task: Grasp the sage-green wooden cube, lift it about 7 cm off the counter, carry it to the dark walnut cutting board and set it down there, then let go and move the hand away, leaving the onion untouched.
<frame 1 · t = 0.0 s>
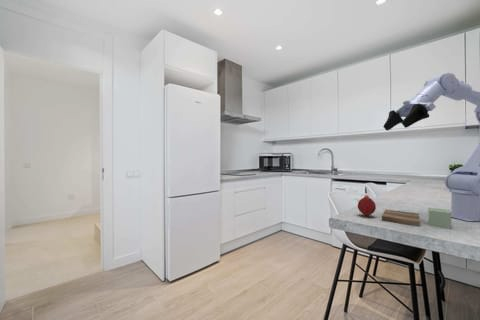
hand: (394, 126, 73), 32 cm above the countertop, tool tilted 50°, fingers open, 7 cm apart
cube: (439, 225, 69), on the countertop
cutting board: (400, 219, 76), on the countertop
onion: (366, 216, 80), on the countertop
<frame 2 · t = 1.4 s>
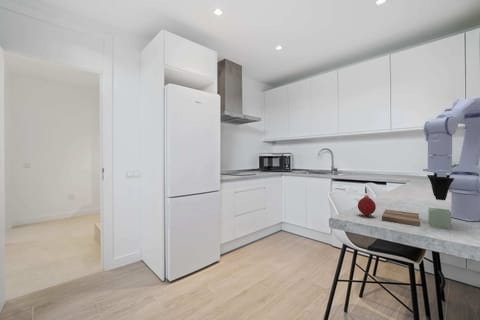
hand: (439, 197, 69), 9 cm above the countertop, tool pointing down, fingers open, 7 cm apart
nothing on the countertop moved.
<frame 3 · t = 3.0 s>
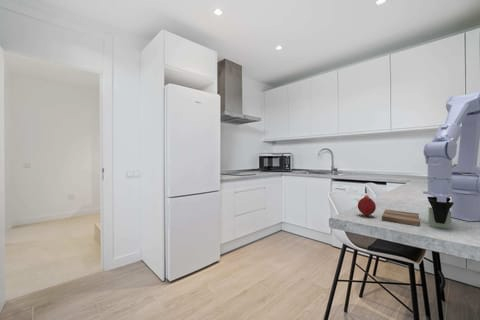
hand: (439, 220, 69), 1 cm above the countertop, tool pointing down, fingers closed on cube, 5 cm apart
cube: (439, 225, 69), on the countertop, touching gripper
everything else where it was.
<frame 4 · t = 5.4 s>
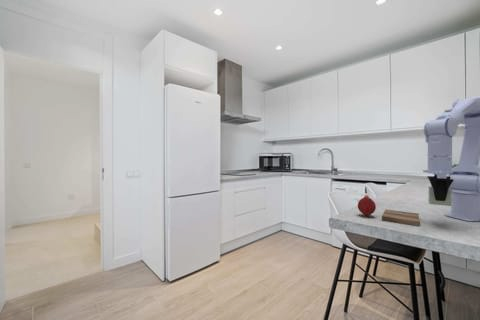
hand: (439, 199, 69), 8 cm above the countertop, tool pointing down, fingers closed on cube, 5 cm apart
cube: (439, 203, 69), point 7 cm above the countertop, touching gripper
everything else where it was.
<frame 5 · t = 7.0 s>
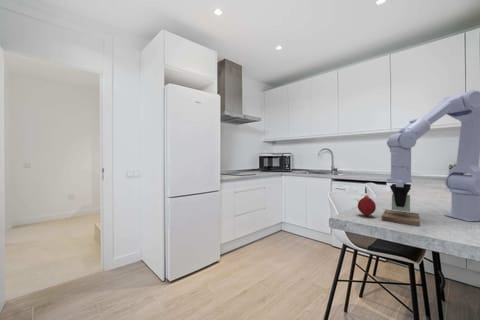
hand: (400, 205, 76), 5 cm above the countertop, tool pointing down, fingers closed on cube, 5 cm apart
cube: (400, 209, 76), point 3 cm above the countertop, touching gripper
everything else where it was.
when the fingers open (4 cm above the countertop, at t = 8.1 s): cube stays where it is, resting on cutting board.
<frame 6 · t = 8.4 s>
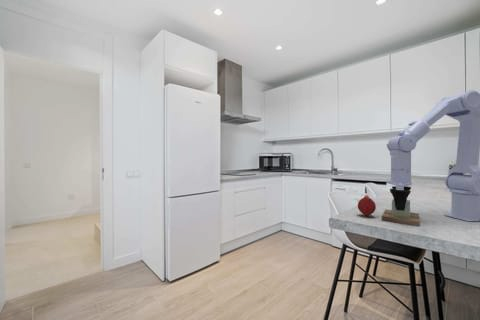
hand: (400, 208, 76), 4 cm above the countertop, tool pointing down, fingers open, 7 cm apart
cube: (401, 214, 76), point 1 cm above the countertop, touching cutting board
everything else where it was.
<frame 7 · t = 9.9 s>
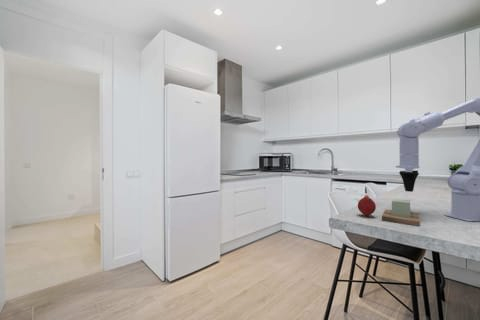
hand: (409, 190, 82), 9 cm above the countertop, tool pointing down, fingers open, 7 cm apart
nothing on the countertop moved.
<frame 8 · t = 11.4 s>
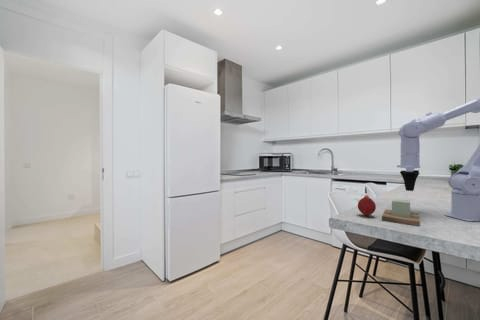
hand: (409, 189, 83), 9 cm above the countertop, tool pointing down, fingers open, 7 cm apart
nothing on the countertop moved.
at the end: cube inside the target area on the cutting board (0.1 cm from its centre), point 1.5 cm above the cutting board's base; cube tilted 0°; the gripper is holding nothing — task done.
